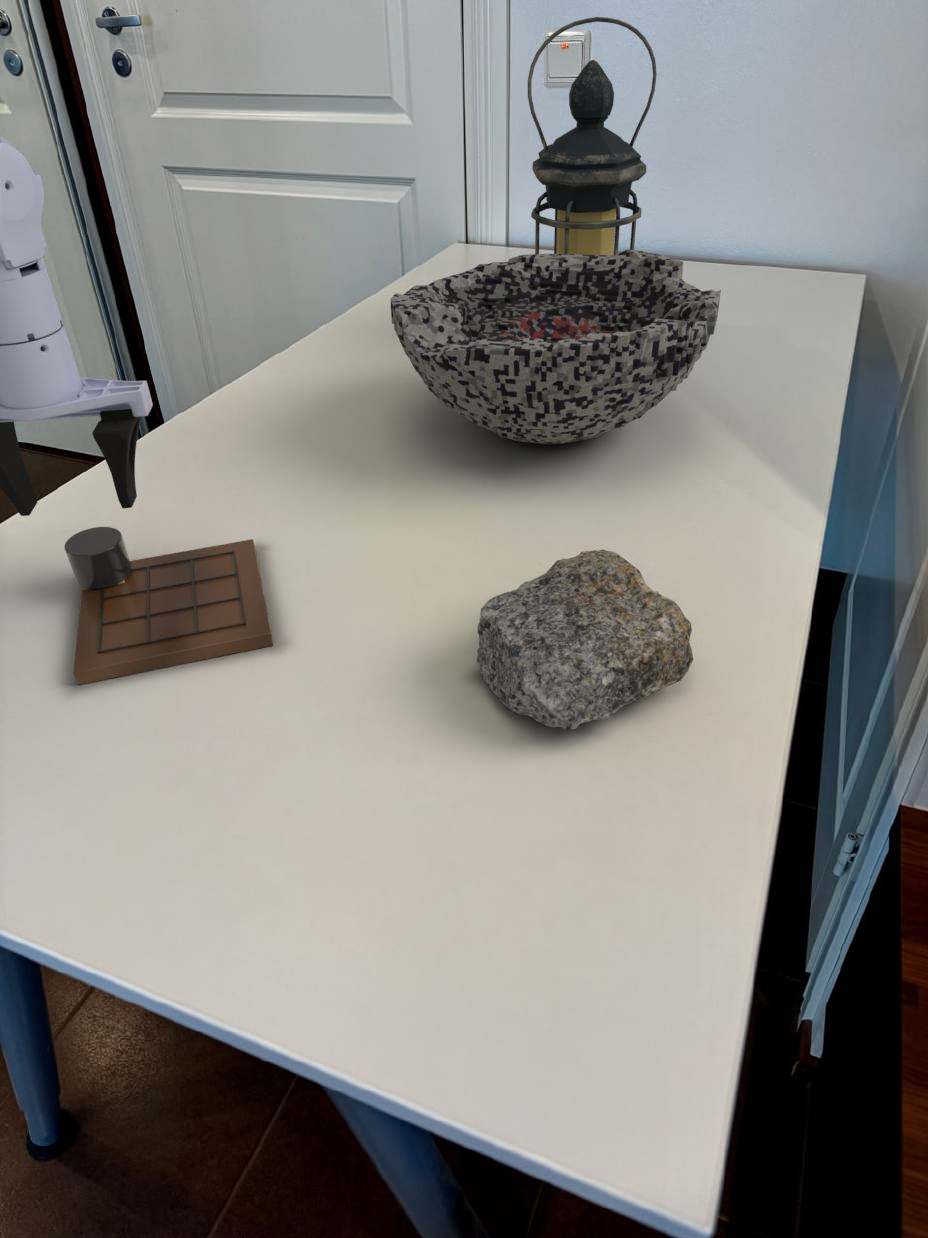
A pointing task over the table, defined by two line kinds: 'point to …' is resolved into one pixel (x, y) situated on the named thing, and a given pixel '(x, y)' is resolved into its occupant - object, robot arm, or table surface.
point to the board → (173, 613)
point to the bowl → (556, 341)
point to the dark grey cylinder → (98, 557)
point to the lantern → (588, 164)
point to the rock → (581, 641)
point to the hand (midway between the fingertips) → (79, 505)
